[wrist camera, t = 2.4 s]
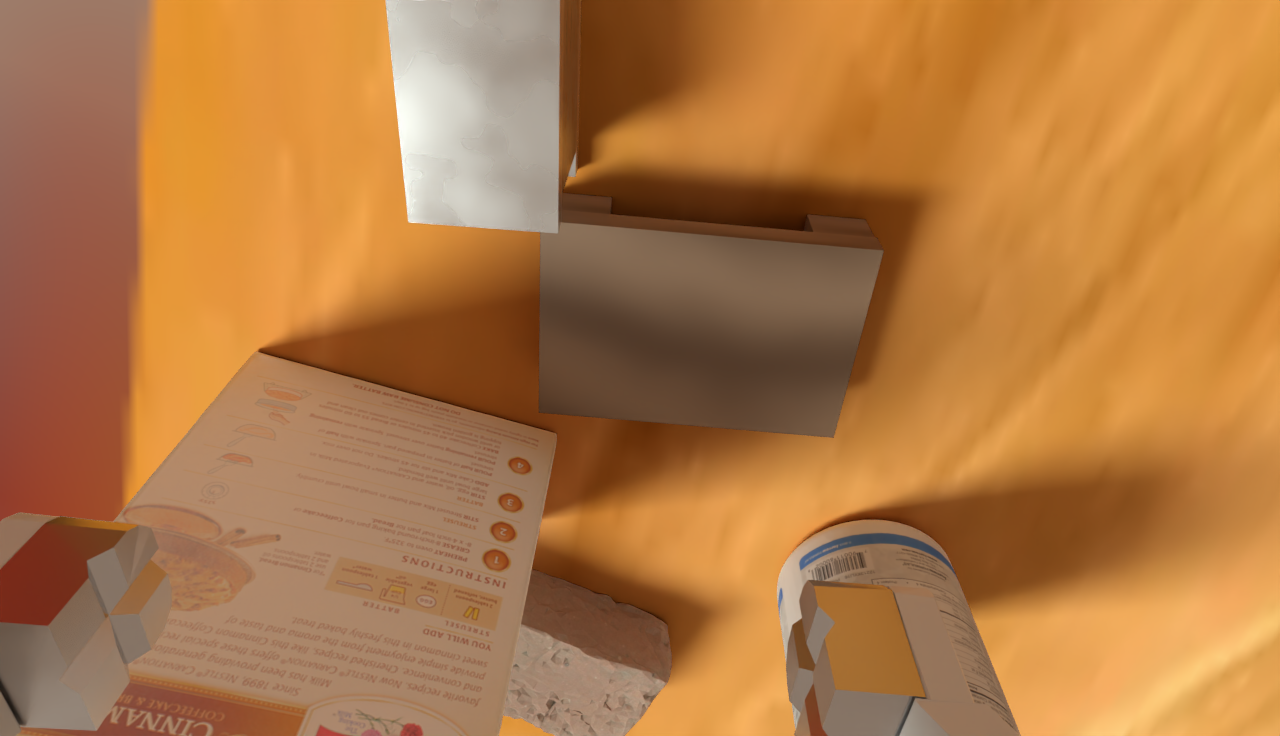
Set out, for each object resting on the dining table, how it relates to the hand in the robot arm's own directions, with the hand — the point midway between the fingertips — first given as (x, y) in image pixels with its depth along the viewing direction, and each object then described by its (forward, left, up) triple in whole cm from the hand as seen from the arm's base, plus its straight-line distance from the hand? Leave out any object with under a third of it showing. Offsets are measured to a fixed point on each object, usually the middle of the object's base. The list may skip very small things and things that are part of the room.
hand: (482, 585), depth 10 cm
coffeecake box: (+18, -10, -24) cm, 32 cm away
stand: (+8, +4, -24) cm, 26 cm away
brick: (+30, -4, -25) cm, 39 cm away
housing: (-2, -4, -24) cm, 24 cm away
